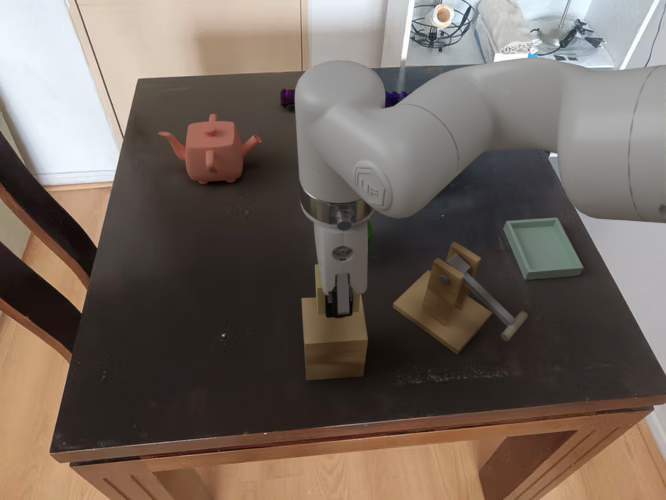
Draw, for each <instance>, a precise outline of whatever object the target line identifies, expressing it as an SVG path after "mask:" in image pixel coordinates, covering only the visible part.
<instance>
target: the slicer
mask: <svg viewBox="0 0 666 500" xmlns="http://www.w3.org/2000/svg"><path fill="white" fill-rule="evenodd" d="M455 253H457V254H458V255H459V256H460V257H461V258H462V259H463V260H464V261H465V262H466V263H467V264H468V265H469V266H470V268H469V269H468V270H467V271H466V272H467V273H468V274H469V275H470V276H471V277H472V278H473V279H474V280H475V276H476V274H477V271H478V268H479V266H480V262H481V260H482V258H481V256H479V255H477V254H475V253H474V252H473V251H471V250H469V249H468V248H466V247H465V246H463V245H461V244H459V243H458V242H457V241H453V242H452V243H451V244H450V245H449V250H448V252H447V257H446V259H445V261H444V260H443V259H441V258H439V257H436V258H435V259H434V260H433V262H432V266H431V270H429V269H427V270H426V271H425V272H424V273H423V274H422V275H421V276H420V277H419V278H418V279H417V280H416V281H415V282H414V283H413V284H411V286H410V287H408V288H407V289H406V290H405V292H403V293H402V294H401V295H400V296H399V297H398V298H397V299H396V300H395V301H394V302H393V303H392V308H393V309H394V310H395V311H397V312H398V313H399V314H401V315H402V316H403V317H405V318H406V319H408V320H409V321H410V322H412V324H414V325H416V326H417V327H418V328H420V329H421V330H422V331H424V332H425V333H426V334H428V335H429V336H430V337H432V338H434V339H435V340H436V341H437V342H439V343H440V344H442V345H443V346H444V347H446V348H447V349H449V351H451V352H452V353H454V354H455V355H459V354H460V353H461V352H462V351H463V349H464V348H465V347H466V346H467V344H469V342H470V341H471V340H472V339H473V338H474V337H475V336H476V334H477V333H478V332H479V331H480V329H482V327H484V325H485V324H486V323H487V322H488V321H489V320H490V318H492V315H493V312H492V311H491V310H490V309H489V308H486V306H483V305H482V304H480V303H479V302H478V301H475V300H474V299H473V298H472V297H470V296H469V293H470V292H471V290H470V289H468V288H467V287H466V286H465V285H464V284H463V283H462V282H463V279H464V276H465V275H464V274H462V273H461V272H459V271H458V270H456V269H455V268H453V267H452V266H450V265H449V264H447V263H446V262H447V261H448V260H449V259H450V258H451V257H452V256H453V255H454V254H455Z"/></svg>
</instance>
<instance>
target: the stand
mask: <svg viewBox="0 0 666 500" xmlns="http://www.w3.org/2000/svg"><path fill="white" fill-rule="evenodd" d="M364 310H365V309H364V305H363V298H362V293H361V294H360V303H359V312H353V313H352V315H351V316H347V317H344V318H334V317H333V318H327V317H326V315H318V310H317V299H316V296H315V297H302V298H301V314H302V334H303V335H302V336H303V349H304V350H303V351H304V365H305V381H318V380H320V381H321V380H331V379H345V378H357V377H364V373H365V365H366V357H367V351H368V342H369V337H368V331H367V324H366V318H365V311H364Z"/></svg>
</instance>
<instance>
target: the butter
mask: <svg viewBox="0 0 666 500" xmlns="http://www.w3.org/2000/svg"><path fill="white" fill-rule="evenodd" d="M314 276H315V277H314V278H315V279H314V280H315V297H316V299H317V310H318V315H326V313H325V295H326V294H325V293H324V292H323V288H322V283H321V277H320V271H319V265H318V263H316V264H315V265H314ZM334 291H336V288H334V289H333V292H334ZM352 293H353V312H359V303H360V294H356V293H355V291H354V290H353V291H352ZM353 312H352V313H353Z"/></svg>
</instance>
